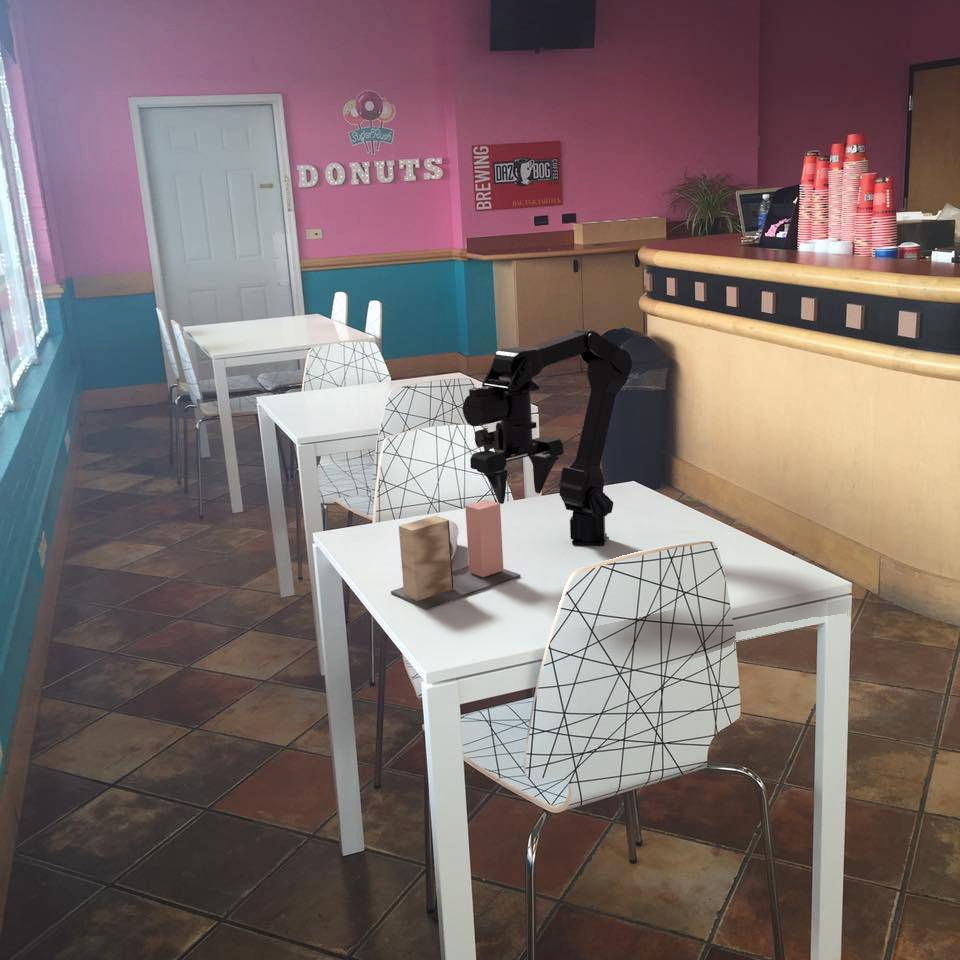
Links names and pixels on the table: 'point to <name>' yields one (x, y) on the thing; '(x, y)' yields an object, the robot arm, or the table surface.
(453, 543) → the drinking glass
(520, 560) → the table surface
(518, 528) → the table surface
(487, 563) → the stub
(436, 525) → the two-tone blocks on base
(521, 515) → the table surface
